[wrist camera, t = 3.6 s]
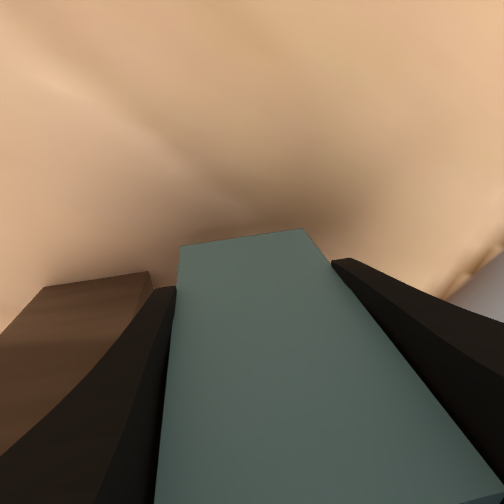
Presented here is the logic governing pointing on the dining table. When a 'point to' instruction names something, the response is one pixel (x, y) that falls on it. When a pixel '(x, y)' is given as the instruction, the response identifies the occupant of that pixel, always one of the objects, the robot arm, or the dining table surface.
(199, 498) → the teal domino
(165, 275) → the dining table surface
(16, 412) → the walnut domino
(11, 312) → the dining table surface
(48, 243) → the dining table surface
